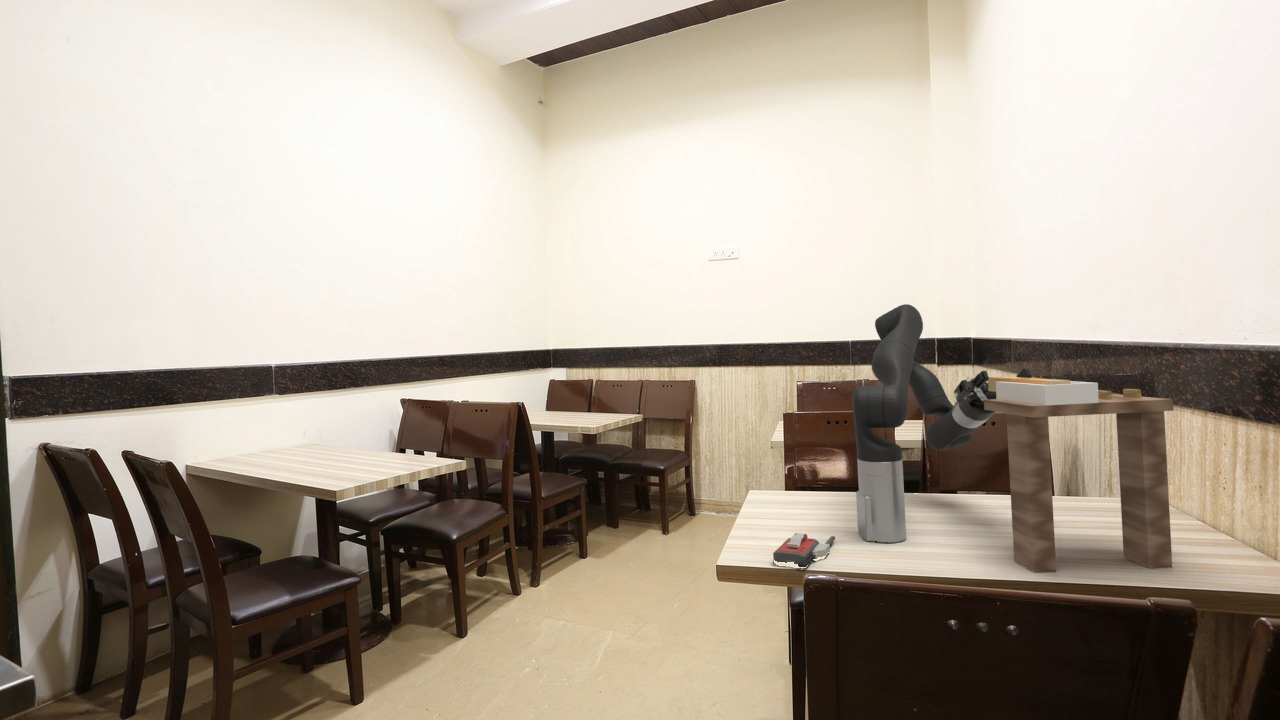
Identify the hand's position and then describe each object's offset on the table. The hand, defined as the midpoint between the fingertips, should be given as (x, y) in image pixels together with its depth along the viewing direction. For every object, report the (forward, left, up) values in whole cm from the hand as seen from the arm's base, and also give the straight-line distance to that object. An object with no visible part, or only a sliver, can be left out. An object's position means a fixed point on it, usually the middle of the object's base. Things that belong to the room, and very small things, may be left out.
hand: (1007, 373), depth 127 cm
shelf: (+5, -12, -35) cm, 37 cm away
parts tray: (0, -12, -5) cm, 13 cm away
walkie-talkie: (-44, -3, -35) cm, 57 cm away
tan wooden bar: (0, -6, -4) cm, 7 cm away
